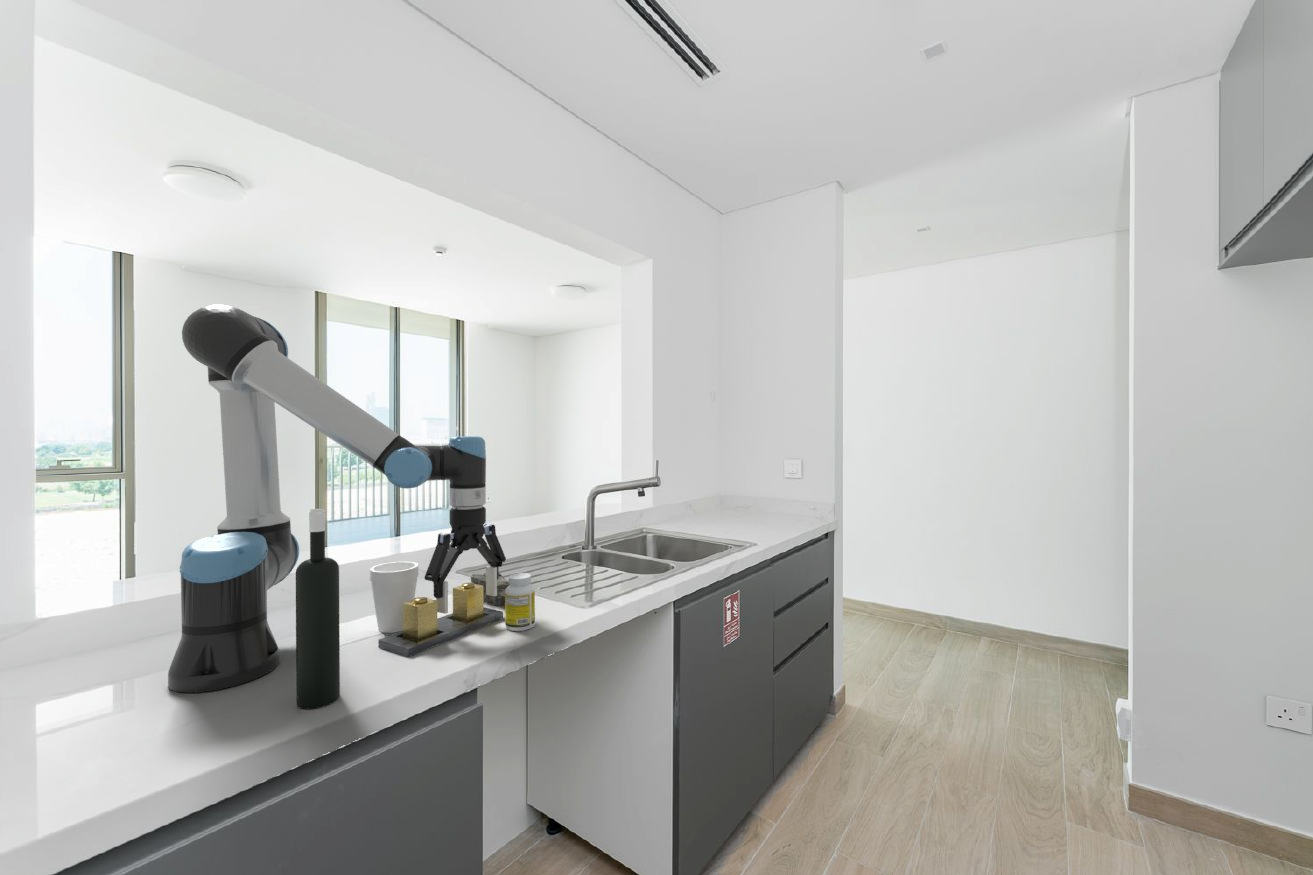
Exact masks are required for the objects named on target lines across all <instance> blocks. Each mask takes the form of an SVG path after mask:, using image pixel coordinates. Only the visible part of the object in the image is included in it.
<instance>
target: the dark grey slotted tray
mask: <svg viewBox="0 0 1313 875" xmlns="http://www.w3.org/2000/svg"><path fill="white" fill-rule="evenodd" d="M503 619H504V611H503V610H502V611H501V610H498V609H493V608H488V607H484V606H483V617H482V618H479V619H477V620H474V621H471V622H469V623H463V622H459V621H455V620H453V612H452V613H450V614H445V615H444V616H441V617H437V635H435V636H433V637H430V638H427V639H425V640H422V641H420V642H417V643H416V642H413V641H410V640H406V639H403V630H402V631H398V632H395V633H393V634H391V635H387V636H385V637H382V638H379V639H378V645H377V646H378V648H380V649H383V650H385V651H387V652H388V651H389V652H392V653H395V654H398V655H401V656H405V657H407V658H410V657H411V656H414V655H417V654H419V653H421V652H424V651H427V650H428V649H432V648H434V647H437V646H438V645H440V644H444V643H446V642H448V641H451V640H453V639H455V638H458V637H460V636H463V635H466V634H468V633H470V632H473V631H476V630H478V629H481V628H483V627H485V626H488V625H490V624H493V623H495V622H498V621H500V620H503Z"/></svg>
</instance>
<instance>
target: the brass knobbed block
mask: <svg viewBox="0 0 1313 875" xmlns="http://www.w3.org/2000/svg"><path fill="white" fill-rule="evenodd" d="M483 607H484V601H483V586H481V585H477V584H474V583H471V582H465V583H461V585H458V586H454V587H453V588H452V613H453V620H455V621H459V622H463V623H469V622H471V621H474V620H477V619H479V618H482V617H483Z"/></svg>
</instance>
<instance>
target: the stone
mask: <svg viewBox="0 0 1313 875" xmlns="http://www.w3.org/2000/svg"><path fill="white" fill-rule="evenodd" d="M498 575H499V578H498V580H497V596H490V595H486V572H484V573H483V574H477V573H472V574H471V575H470V583H474V584H477V585H481V586H483V602H485V604H487V605H494V606H495V607H501V606H503V605H505V590H506V588H507V587H508V586H509V585H510V584H509V580H508V579H506V578H505V577H504V576H503V574H501V572H499V574H498Z"/></svg>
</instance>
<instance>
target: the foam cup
mask: <svg viewBox="0 0 1313 875" xmlns="http://www.w3.org/2000/svg"><path fill="white" fill-rule="evenodd" d="M419 565H420V564H419V563H418V562H415V561H409V560H407V561H392V562H391V561H390V562H385V563H380V564H376V565H374V566H372V567H370V568H369V582H370V584H371V591H372V597H373V604H374V605H373V606H374V610H375V611H374V612H375V616H376V624H377V628H378V631H379V632H381V633H387V634H388V633H398V632H401V631H403V603H405V602H409V601H412V600H413V599H415V598H416V591H417V582H418V577H419V570H420V568H419Z"/></svg>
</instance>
